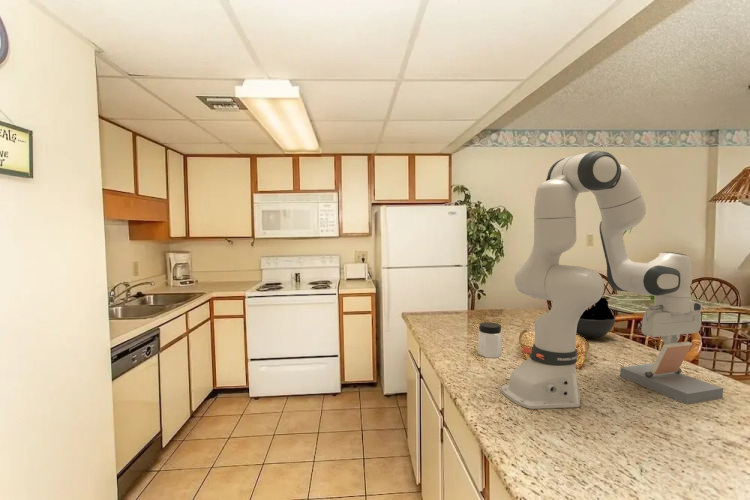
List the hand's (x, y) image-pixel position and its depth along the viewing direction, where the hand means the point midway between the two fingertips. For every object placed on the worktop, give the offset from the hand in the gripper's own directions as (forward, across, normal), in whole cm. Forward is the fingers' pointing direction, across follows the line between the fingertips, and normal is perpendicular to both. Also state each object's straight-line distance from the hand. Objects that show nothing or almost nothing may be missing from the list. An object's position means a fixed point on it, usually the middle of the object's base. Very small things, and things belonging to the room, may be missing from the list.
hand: (670, 348), depth 116 cm
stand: (+12, 0, 0) cm, 12 cm away
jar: (+13, -36, +42) cm, 57 cm away
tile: (+3, 0, 0) cm, 3 cm away
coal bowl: (+12, +21, +50) cm, 56 cm away
